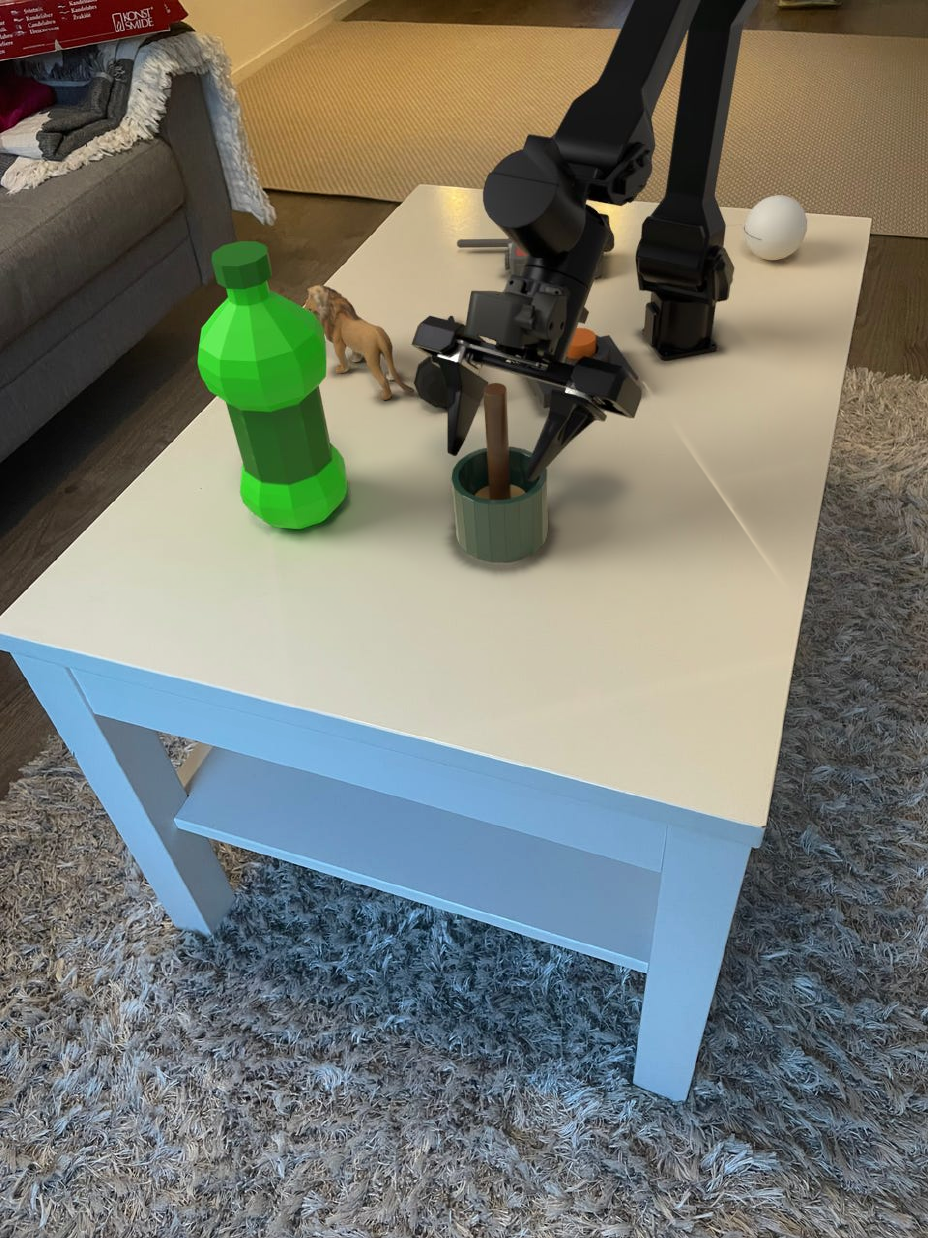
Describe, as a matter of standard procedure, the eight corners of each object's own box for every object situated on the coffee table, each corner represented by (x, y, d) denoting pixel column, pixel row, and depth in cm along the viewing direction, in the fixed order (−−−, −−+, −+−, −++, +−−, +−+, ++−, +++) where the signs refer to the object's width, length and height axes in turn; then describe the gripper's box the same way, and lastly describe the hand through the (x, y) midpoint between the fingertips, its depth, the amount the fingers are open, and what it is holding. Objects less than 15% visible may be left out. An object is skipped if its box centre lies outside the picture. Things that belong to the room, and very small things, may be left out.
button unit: (608, 352, 106) (609, 319, 103) (636, 395, 100) (639, 361, 97) (520, 369, 105) (519, 335, 102) (544, 413, 99) (543, 379, 96)
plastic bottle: (311, 465, 95) (255, 212, 77) (378, 511, 89) (335, 249, 71) (225, 514, 90) (145, 256, 73) (291, 565, 85) (221, 300, 67)
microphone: (439, 347, 115) (425, 425, 99) (420, 303, 112) (403, 376, 96) (481, 332, 113) (475, 408, 98) (464, 286, 110) (454, 358, 95)
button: (589, 340, 101) (589, 325, 100) (600, 357, 99) (600, 341, 97) (556, 346, 101) (556, 331, 99) (566, 363, 98) (566, 348, 97)
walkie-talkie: (612, 247, 124) (458, 249, 126) (614, 213, 121) (456, 216, 123) (611, 279, 118) (450, 281, 120) (613, 244, 114) (447, 246, 117)
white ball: (804, 246, 120) (816, 186, 115) (797, 273, 116) (809, 212, 110) (723, 239, 123) (731, 180, 118) (713, 265, 118) (720, 205, 113)
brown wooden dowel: (521, 510, 87) (516, 367, 77) (535, 543, 84) (533, 399, 73) (469, 520, 86) (457, 378, 76) (482, 554, 83) (471, 411, 73)
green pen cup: (533, 501, 89) (532, 438, 84) (558, 557, 83) (559, 493, 78) (448, 518, 88) (442, 455, 83) (468, 576, 82) (463, 512, 77)
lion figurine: (303, 367, 108) (287, 291, 102) (336, 346, 111) (323, 272, 104) (398, 408, 101) (388, 330, 95) (432, 385, 104) (424, 307, 97)
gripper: (412, 217, 74) (346, 413, 75) (634, 264, 66) (555, 482, 67) (473, 272, 84) (414, 444, 85) (673, 319, 76) (603, 507, 77)
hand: (489, 467), depth 78 cm, fingers open, 7 cm apart
